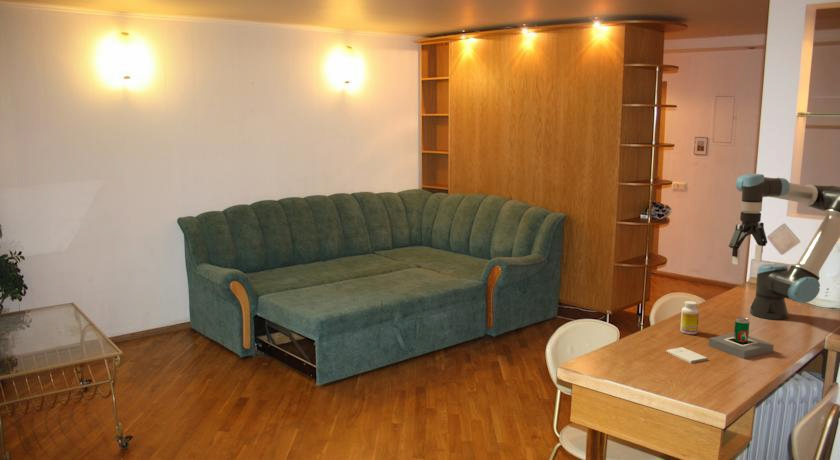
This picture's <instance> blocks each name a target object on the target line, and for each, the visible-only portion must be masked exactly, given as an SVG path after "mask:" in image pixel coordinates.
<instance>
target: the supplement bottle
mask: <svg viewBox="0 0 840 460" xmlns="http://www.w3.org/2000/svg"><path fill="white" fill-rule="evenodd" d="M683 305H684V306H683V307H682V308H681V314H680V315H681V316H680V333H682V334H685V335H696V334H697V333H698V331H699V316H700V315H699V313H700V311H699V309H698V308H697V306H698V303H697V302H696V301H692V300H686V301H684V303H683Z"/></svg>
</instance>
